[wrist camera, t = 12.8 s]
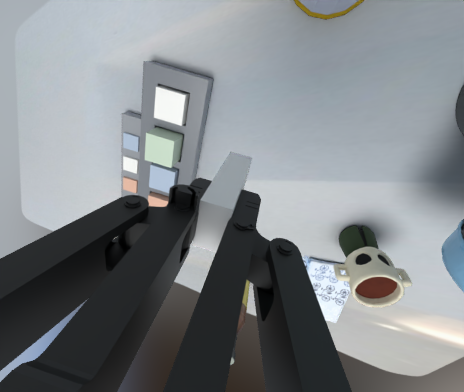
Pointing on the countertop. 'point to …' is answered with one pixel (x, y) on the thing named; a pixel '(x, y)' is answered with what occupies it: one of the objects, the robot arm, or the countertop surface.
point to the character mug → (369, 270)
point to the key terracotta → (157, 199)
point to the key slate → (163, 177)
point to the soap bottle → (327, 7)
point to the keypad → (139, 125)
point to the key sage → (163, 146)
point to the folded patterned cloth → (327, 287)
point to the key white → (171, 104)
